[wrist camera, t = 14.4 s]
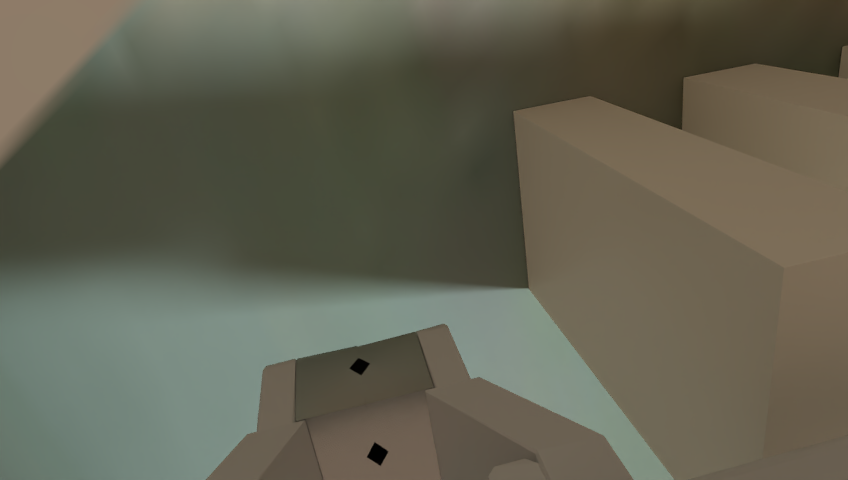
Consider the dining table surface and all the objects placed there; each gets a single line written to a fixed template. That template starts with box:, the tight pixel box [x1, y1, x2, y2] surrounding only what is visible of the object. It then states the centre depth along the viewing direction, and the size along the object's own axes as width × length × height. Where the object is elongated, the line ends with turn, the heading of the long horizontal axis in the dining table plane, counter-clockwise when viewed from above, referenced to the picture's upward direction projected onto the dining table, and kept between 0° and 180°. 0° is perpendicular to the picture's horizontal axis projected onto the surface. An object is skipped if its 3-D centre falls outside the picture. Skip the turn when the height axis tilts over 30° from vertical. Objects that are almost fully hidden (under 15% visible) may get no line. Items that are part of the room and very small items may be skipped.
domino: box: [513, 96, 848, 480], centre depth 12 cm, size 2×5×9 cm, turn 8°
